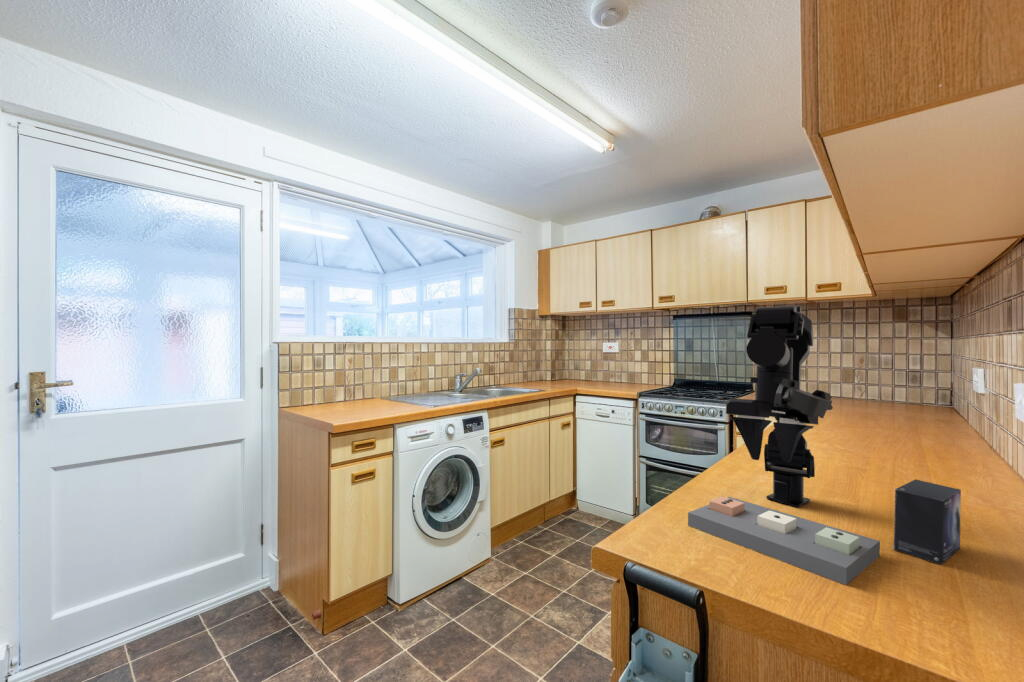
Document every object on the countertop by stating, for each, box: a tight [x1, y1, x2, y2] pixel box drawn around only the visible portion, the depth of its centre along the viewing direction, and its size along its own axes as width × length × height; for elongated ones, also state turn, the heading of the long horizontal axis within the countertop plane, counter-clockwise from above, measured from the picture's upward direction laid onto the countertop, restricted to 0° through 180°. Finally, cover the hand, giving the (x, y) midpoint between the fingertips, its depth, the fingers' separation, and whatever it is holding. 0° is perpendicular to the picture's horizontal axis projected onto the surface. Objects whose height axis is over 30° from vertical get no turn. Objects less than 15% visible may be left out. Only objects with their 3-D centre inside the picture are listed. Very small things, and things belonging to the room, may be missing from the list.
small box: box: [893, 479, 962, 566], centre depth 74 cm, size 11×6×10 cm, turn 123°
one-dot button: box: [757, 510, 796, 534], centre depth 77 cm, size 4×4×3 cm
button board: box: [687, 496, 881, 586], centre depth 77 cm, size 15×25×2 cm, turn 36°
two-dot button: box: [815, 527, 859, 556], centre depth 70 cm, size 4×4×3 cm
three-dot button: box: [708, 496, 744, 517], centre depth 85 cm, size 4×4×3 cm
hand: (771, 460), depth 78 cm, fingers open, 9 cm apart
